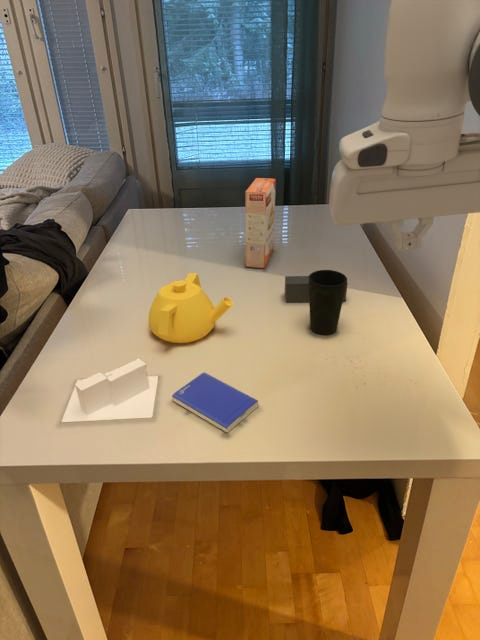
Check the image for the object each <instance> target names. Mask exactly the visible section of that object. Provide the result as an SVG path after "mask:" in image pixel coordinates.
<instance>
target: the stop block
mask: <svg viewBox="0 0 480 640" xmlns="http://www.w3.org/2000/svg"><path fill="white" fill-rule="evenodd" d="M348 284H349V283H348V282H347V284H346V289H345V293H344V298H343V302H342V303H346V300H347V292H348ZM284 300H285V303H286V304H302V303H303V304H304V303H305V304H306V303H309V275H294V276H293V275H287V276H286V275H285V276H284Z"/></svg>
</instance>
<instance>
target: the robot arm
mask: <svg viewBox="0 0 480 640" xmlns="http://www.w3.org/2000/svg"><path fill="white" fill-rule="evenodd" d="M387 14H388V15H387V21H386V28H385V35H384V44H383V57H382V58H383V59H382V76H383V80H384V88H385V89H384V90H385V91H384V97H383V100H382V103H381V107H380V112H379V120H378V121H376V122H374V123H372V124H370V125H368V126H366V127H364V128H361V129H359V130H356V131H354V132H352V133H350V134H347V135H346V136H343V137H342V138H341V139H340V140H339V144H338V145H339V146H338V150H339V156H340V158H341V159H340V160H339V161H338V162H337V163H336V164H335V166H334V168H333V171H332V175H331V179H330V185H329V197H328V213H329V216H330V219H331V220H332V221H333V222H334V223H335V225H337V226H340V227H341V226H353V225H361V224H373V223H382V222H387V224H388V225H389V226H390V228H391V230H392V231H393V233H394V235H395V236H394V247H395V249H396V250H397V251H404V250H415V249H421V246H422V240H423V237H424V236H425V235H426V233H428V231H429V230H430V228H431V227H432V226H433V224H434V219H435V218H436V217H437V218H438V217H446V216H456V215H467V214H477V213H478V214H479V213H480V132H467V133H462V130H463V124H464V119H465V110H466V105H467V103H468V102H470V103H471V104H472V106H473V109H474V110H475V113H477V115H478V117H480V0H391V1H390V5H389V10H388V13H387ZM415 219H416V220H418V223H417V224H416V226H415V227H414V228H413V230H412V231H404V232H401V230H400V229H399V228H403V226H404V221H405V220H415Z"/></svg>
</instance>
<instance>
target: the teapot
mask: <svg viewBox="0 0 480 640" xmlns="http://www.w3.org/2000/svg"><path fill="white" fill-rule="evenodd" d="M155 295H156V296H155V297H154V299H153V301H152V302H151V305H150V307H149V313H148V327H149V329H150V331H151V332H152V333H153V334H154V335H155V336H156V337H158V338H159V339H161V340H163V341H165V342H166V343H167V342H168V343H172V344H188V343H193V342H197V341H199V340H201V339H203V338H204V337H206V336H207V335H208V334H209V333H210V332H211V331H212V329H214V327H215V325H216V323H217V321H218V320H219V319H220V318H222V316H223V315H224V314H225V313H226V312H227V311H228V310H229V309H231V308H232V307H233V306H234V303H233V300H232V299H231V298H229V297H226V296H225V297H223V298H222V299H221V300H220V302H218V303H217V305H216V306H214V305H213V302H212V300H211V298H209V296H208V295H207V293H206V292H205V291H204V290H203V289H202V286H201V282H200V278H199V273H194V272H189V273H188V275H187V276H186V277H185V279H184V280H183V279H180V280H177V279H176V280H174V281H173V282H170V283H167V284H165V285H163V286H162V287H161V288H160V289H159V290H158V292H157V293H156V294H155Z"/></svg>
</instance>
